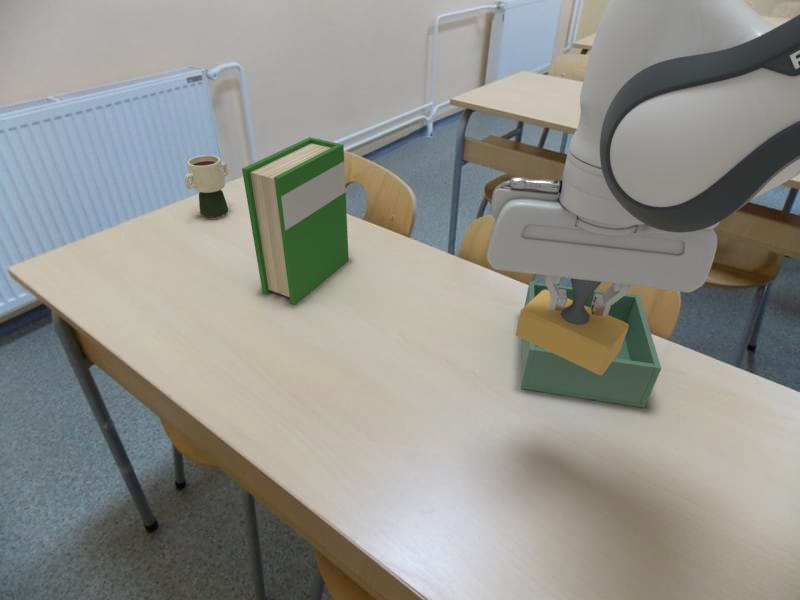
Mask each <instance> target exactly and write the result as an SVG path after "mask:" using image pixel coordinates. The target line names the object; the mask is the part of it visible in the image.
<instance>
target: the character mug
mask: <svg viewBox="0 0 800 600" xmlns="http://www.w3.org/2000/svg"><path fill="white" fill-rule="evenodd" d="M187 169H188V173H185V174H184V175H183V180H184V184H185V187H186V189H187V190H190V189H194V190H195V191H196V192H198V203H199V204H198V205H199V213H200V215H201V216H203V217H207V218H220V217H223V216H225V215H226V214H227V213H228V212H229V207H228V203H227V200H226V197H225V194H224V192H223V189H224V188H225V186H226V181H225V177H227V176H229V169H228V164H227V162H226V161H222V160H221V157H219V156H218V155H214V154H213V155H212V154H202V155H201V154H200V155H195V156H193V157H191V158H189V159H187Z"/></svg>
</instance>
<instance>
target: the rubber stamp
mask: <svg viewBox="0 0 800 600" xmlns="http://www.w3.org/2000/svg"><path fill="white" fill-rule="evenodd" d="M570 283H571V287H572V288H573V300H570V299H568V298H567V302H566V305H565V310H564V311H558V310H551V309H549V299H550V292H549V290H542V291H541V292H540V293H539V294H538V295H537V296H536V297H534V298H533V299H532V300H531V301H530V302H529V303H528V304H527V305H526V306H525V305H524V306H525V307H522V309H520V312H519V316H518V322H517V327H516V332H515V336H516V337H519V338H520V339H522V338H523V339H525V340H527V341H529V342H531V343H533V344H535V345H537V346H539V347H541V348H543V349H546V350H548V351H550V352H552V353H554V354H556V355H558V356H560V357H562V358H564V359H567V360H569V361H571V362H573V363H575V364H577V365H579V366H581V367H583V368H585V369H587V370H590V371H592V372H594V373H596V374H598V375H601V376H602V375H603V373H604V372H605V371H606V369H607V368H608V367H609V365H610V364H611V362H612V361H613V360H614V358H615V357H616V356H617V354H618V353H619V351H620V350H621V347H622V344H623V341H624V339H625V336H626V333H627V330H628V327H629V325H628V324H627V323H626V322H624V321H621V320H619V319H616V318H614V317H612V316H609V315H608V316H607V317H605V316H598V315H592V311H591V308H590V307H587V306H585V303H586V301H587V299H588V298H589V296H590V295H591V294H592V293H593V292H594V291H595V290H597V288H599V286H600V285H601V284H602V282H597V281H591V280H580V279H572V278H570Z"/></svg>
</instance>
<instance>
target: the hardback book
mask: <svg viewBox="0 0 800 600" xmlns="http://www.w3.org/2000/svg"><path fill="white" fill-rule="evenodd" d="M344 149H345V147H344V144H342V143H339V142H338V143H337V142H333V141H329V140H325V139H320V138H315V137H311V136H310V137H309V136H308V137H307V138H305V139H302V140H300V141H298V142H296V143H294V144H292V145H290V146H288V147H286V148H283V149H281V150H279V151H277V152H274V153H273V154H270V155H269V156H265V157H264V158H262V159H259V160H257V161H255V162H253V163H251V164H249V165H246V166H244V167H242V169H241V170H242V177H243V183H244V190H245V194H246V195H245V196H246V201H247V207H248V213H249V219H250V225H251V231H252V237H253V243H254V249H255V256H256V261H257V267H258V268H257V269H258V275H259V279H260V286H261V291H262V294H265V295H268V294H270V293H271V292H274V293H276V294H280V295H282V296H285V297H288V298H289V302H290V304H292V305H296V304H297V303H299V302H300V301H301V300H302V299H304V298H305V297H306V296H307V295H308V294H310V293H311V292H312V291H313V290H314V289H316V288H317V287H318V286H320V284H322V283H323V282H324V281H325V280H327V279H328V278H329V277H330V276H332V275H333V274H334V273H335V272H336V271H338V270H339V269H340V268H341V267H342V266H344V265H345V264H346V263H348V261H350V259H349V237H348V216H347V193H346V191H347V190H346V169H345V150H344Z"/></svg>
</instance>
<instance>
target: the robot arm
mask: <svg viewBox="0 0 800 600" xmlns="http://www.w3.org/2000/svg"><path fill="white" fill-rule="evenodd" d="M585 67H586V68H585V72H584V75H583V76H584V77H583V81H582V85H581V90H580V95H579V104H580V107H579V108H580V115H579V117H580V118H579V121H578V125H577V128H576V130H575V132H574V133H573V135H572V137H571V139H570V142H569V144H568V149H567V154H566V158H565V162H564V166H563V167H564V168H563V171H562V176H561V177H562V178H561V180H555V179H542V178H540V179H539V178H538V179H533V178H532V179H531V178H527V177H524V176H523V177H521V176H514V177H511V178H510V180H506V181H503V182H501V183H499V184H498V185H497V186H495V187H494V189H493V191H492V194H491V202H490V213H491V215H492V217H493V218H494V221H493V224H492V228H491V232H490V236H489V241H488V247H487V256H486V259H487V262H488V263H489V265H490V266H491V267H492V268H493V270H498V271H504V272H513V273H523V274H531V275H539V276H544V283H545V284H546V286H547V288H548V290H549V292H550V299H549V309H551V310H558V311H564V310H565V305H566V302H567V295H566V293H567V292H566V290H565V289H559V288H558V286H557V285H560V283H561V279H562V278H564V279H571V278H572V279H580V280H591V281H597V282H601V283H605V284H606V283H607V284H611V285H610V286H609V287H607V288H606V289H605V290H604V291H605V292H604V293H603V294H598V293H594V296H593V301H592V303H591V311H592V315H598V316H605V317H607V316H608V313H609V310H610V307H611V305H613V304H614V303H615V302H617V301H618V300H619V299H621V298H622V297H623V296H624V295H626V294H629V290H630V287H639V288H647V289H656V290H663V291H673V292H674V291H675V292H681V293H692V292H694V291H696V290H698V289H700V288H701V287H702V286H704V285H705V283H706V281H707V279H708V276H709V274H710V271H711V268H712V266H713V263H714V259H715V257H716V252H717V249H718V235H717V234H716V231H715V230H714V229H715V228H716V227H718V226H719V224H720V223H721V222H722V221H723V220H725V219H727V218H728V217H730V216H731V215H733V214H735V213H736V212H738V211H739V210H741V209H742V208H743V207H745V206H746V205H747V204H748V203H750V202H751V201H753V200H755V199H757V198H758V197H761V196H762V195H765V194H766V193H768V192H770V191H772V190H773V189H775V188H777V187H779V186H781V185H783V184H785V183H787V182H788V181H790V180H793V179H794V178H795V177H797V176H799V175H800V13H799V14H797V15H796V16H794V17H792V18H791V19H789V20H787V21H786V22H783V23H781V24H780V25H776V24H773V23H772V22H771V21H769V20H767V19H766V18H765V17H764V16H762V15H760V14H759V13H758V12H757V11H756V10H754V8H752V7H751V6H750V5H749V4H747V2H746V1H744V0H609V2H608V4H607V6H606V8H605V10H604V12H603V14H602V17H601V19H600V22H599V24H598V27H597V30H596V33H595V36H594V39H593V42H592V46H591V49H590V53H589V56H588V61H587V63H586V66H585Z"/></svg>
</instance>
